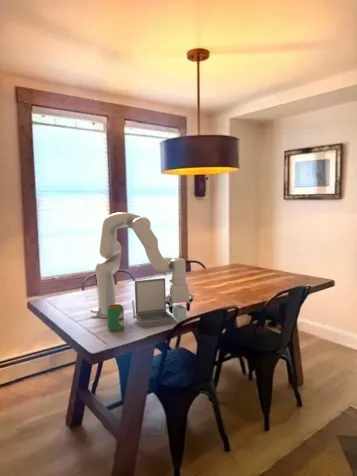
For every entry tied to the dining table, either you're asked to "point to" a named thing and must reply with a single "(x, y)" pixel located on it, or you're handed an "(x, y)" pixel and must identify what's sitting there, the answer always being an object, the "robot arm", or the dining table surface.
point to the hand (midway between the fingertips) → (179, 311)
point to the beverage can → (115, 317)
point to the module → (179, 312)
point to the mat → (176, 319)
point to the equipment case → (151, 303)
